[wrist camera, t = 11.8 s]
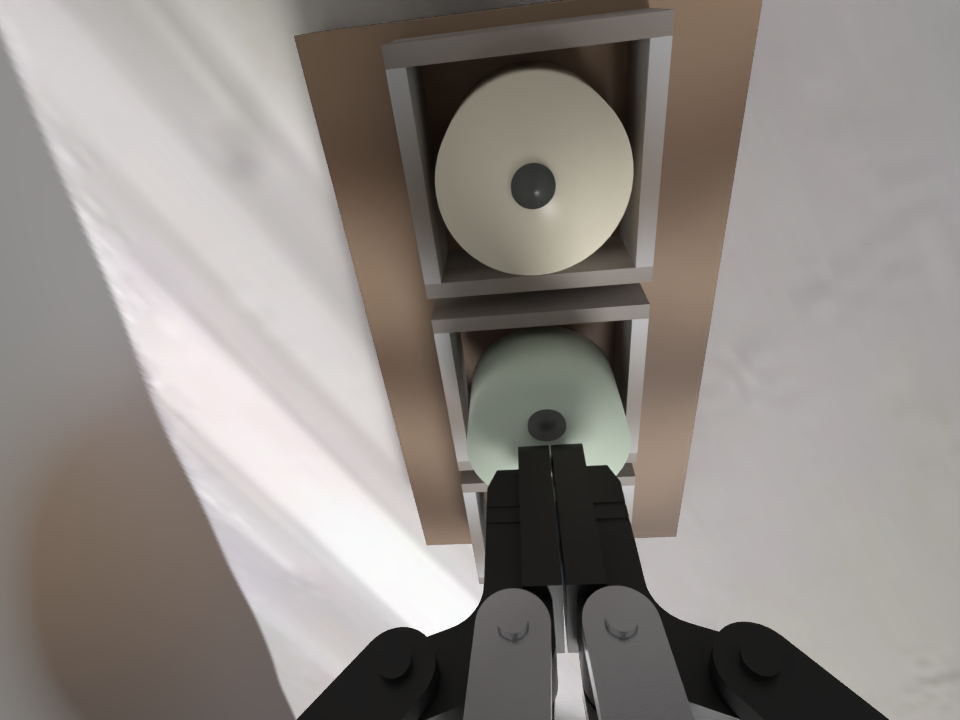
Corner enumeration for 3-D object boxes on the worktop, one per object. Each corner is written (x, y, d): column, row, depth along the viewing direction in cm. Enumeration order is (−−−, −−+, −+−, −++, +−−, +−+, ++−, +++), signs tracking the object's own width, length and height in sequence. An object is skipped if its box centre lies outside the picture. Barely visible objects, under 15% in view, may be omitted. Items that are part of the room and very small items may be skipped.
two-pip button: (463, 331, 14) (456, 392, 12) (615, 320, 14) (636, 381, 12) (479, 441, 16) (475, 509, 14) (611, 435, 16) (627, 503, 14)
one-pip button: (434, 71, 12) (418, 88, 10) (615, 50, 11) (640, 62, 9) (457, 241, 14) (448, 284, 12) (609, 227, 14) (629, 270, 12)
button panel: (320, 31, 13) (258, 42, 10) (731, -22, 12) (814, -29, 9) (432, 506, 23) (420, 590, 20) (663, 496, 22) (690, 582, 19)
